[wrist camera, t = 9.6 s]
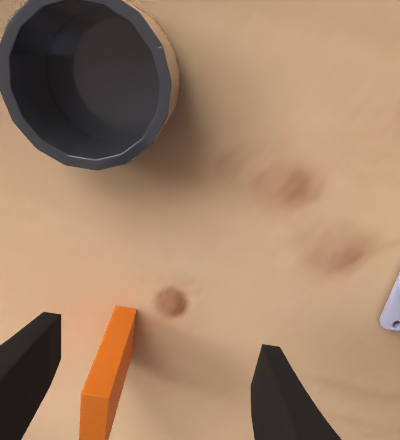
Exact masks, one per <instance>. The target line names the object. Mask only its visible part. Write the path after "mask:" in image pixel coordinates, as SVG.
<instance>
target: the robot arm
mask: <svg viewBox="0 0 400 440" xmlns="http://www.w3.org/2000/svg"><path fill="white" fill-rule="evenodd" d="M396 321H398V322H397V323H395V324H393V323H394V322H396ZM379 323H380V325H381V326H382V327H383V328H384V329H389V330H395V331H400V273H399V275H398V277H397V279H396V282H395V284H394V286H393V288H392V291H391V293H390V295H389V298H388V300H387V302H386V304H385V307H384V309H383V311H382V313H381V316H380V318H379ZM60 360H61V314H54V313H48V312H43V313H42V314H40V315H39V316H38V317H36V318H35V319H34V320H33V321H31V322H30V323H29V324H28V325H26V326H25V327H24V328H23V329H21V330H20V331H19V332H17V333H16V334H15V335H14V336H12V337H11V338H10V339H8V340H7V341H6V342H4V343H3V344H2V345H0V440H21V439H22V437H23V435H24V433H25V432H26V430H27V428H28V426H29V424H30V422H31V421H32V419H33V417H34V415H35V413H36V411H37V410H38V408H39V406H40V404H41V402H42V400H43V398H44V397H45V395H46V393H47V391H48V389H49V387H50V385H51V383H52V380H53V378H54V375H55V373H56V370H57V368H58V365H59V362H60ZM251 415H252V423H253V430H254V438H255V440H341V438H340V437H339V436H338V435H337V434H336V432H335V431H334V430H333V429H332V427H331V426H330V425H329V423H328V422H327V421H326V419H325V418H324V416H323V415H322V414H321V412H320V411H319V410H318V408H317V407H316V405H315V404H314V402H313V401H312V399H311V398H310V396H309V395H308V393H307V392H306V390H305V389H304V387H303V385H302V384H301V382H300V381H299V379H298V377H297V376H296V374H295V372H294V371H293V369H292V367H291V366H290V364H289V362H288V360H287V359H286V357H285V355H284V353H283V352H282V350H281V348H280V347H278V346H271V345H264V344H262V348H261V351H260V355H259V358H258V362H257V365H256V369H255V373H254V376H253V380H252V383H251Z"/></svg>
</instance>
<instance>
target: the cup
mask: <svg viewBox="0 0 400 440" xmlns="http://www.w3.org/2000/svg"><path fill="white" fill-rule="evenodd" d="M179 81H180V75H179V69H178V63H177V59H176V56H175V53H174V50H173V47H172V45H171V43H170V41H169V40H168V38H167V36H166V35H165V33H164V32H163V31H162V29H161V28H160V27H159V25H158V24H157V23H156V21H155V20H154V19H153V18H151V17H150V16H148V15H147V14H145V13H144V12H143V11H141V10H139V9H138V8H137V7H135V6H134V5H132V4H131V3H129V2H127V1H126V0H28V1H27V2H26V3H25V4H24V5H22V6H21V7H20V8H19V9H18V10H17V11H16V12H15V13H14V14H13V15H12V16H11V17H10V19H9V21H8V23H7V26H6V29H5V32H4V35H3V37H2V40H1V43H0V92H1V95H2V97H3V99H4V102H5V104H6V107H7V109H8V111H9V114H10V116H11V118H12V121H13V122H14V124H15V125H16V126H17V127H18V128H19V129H20V130H21V132H22V133H23V134H24V135H25V136H26V137H27V138H28V139H29V141H30V142H31V143H32V144H33V145H34V146H35V147H36V148H37V149H38V150H40V151H42V152H43V153H45V154H47V155H49V156H50V157H52V158H54V159H56V160H57V161H59V162H61V163H63V164H64V165H67V166H73V167H79V168H85V169H91V170H102V169H106V168H111V167H115V166H120V165H124V164H127V163H129V162H130V161H132V160H133V159H134V158H136V157H137V156H138V155H140V154H141V153H142V152H144V151H145V150H146V149H148V148H149V147H151V145H152V144H153V143H154V141H155V140H156V138H157V137H158V136H159V134H160V133H161V131H162V130H163V128H164V126H165V125H166V123H167V121H168V119H169V118H170V116H171V114H172V112H173V111H174V109H175V107H176V104H177V98H178V92H179Z"/></svg>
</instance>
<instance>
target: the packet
mask: <svg viewBox="0 0 400 440" xmlns="http://www.w3.org/2000/svg"><path fill="white" fill-rule="evenodd" d="M136 312H137V310H136V309H130V308H123V307H117V306H116V307H115V309H114V312H113V314H112V317H111V319H110V322H109V325H108V327H107V330H106V332H105V335H104V337H103V340H102V342H101V345H100V347H99V350H98V352H97V355H96V357H95V360H94V362H93V365H92V367H91V370H90V373H89V375H88V378H87V380H86V383H85V385H84V388H83V390H82V393H81V408H80V428H79V440H108V439H109V435H110V432H111V428H112V425H113V421H114V417H115V414H116V410H117V407H118V403H119V399H120V396H121V392H122V389H123V385H124V382H125V378H126V374H127V371H128V367H129V364H130V360H131V355H132V346H133V338H134V329H135V321H136Z"/></svg>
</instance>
